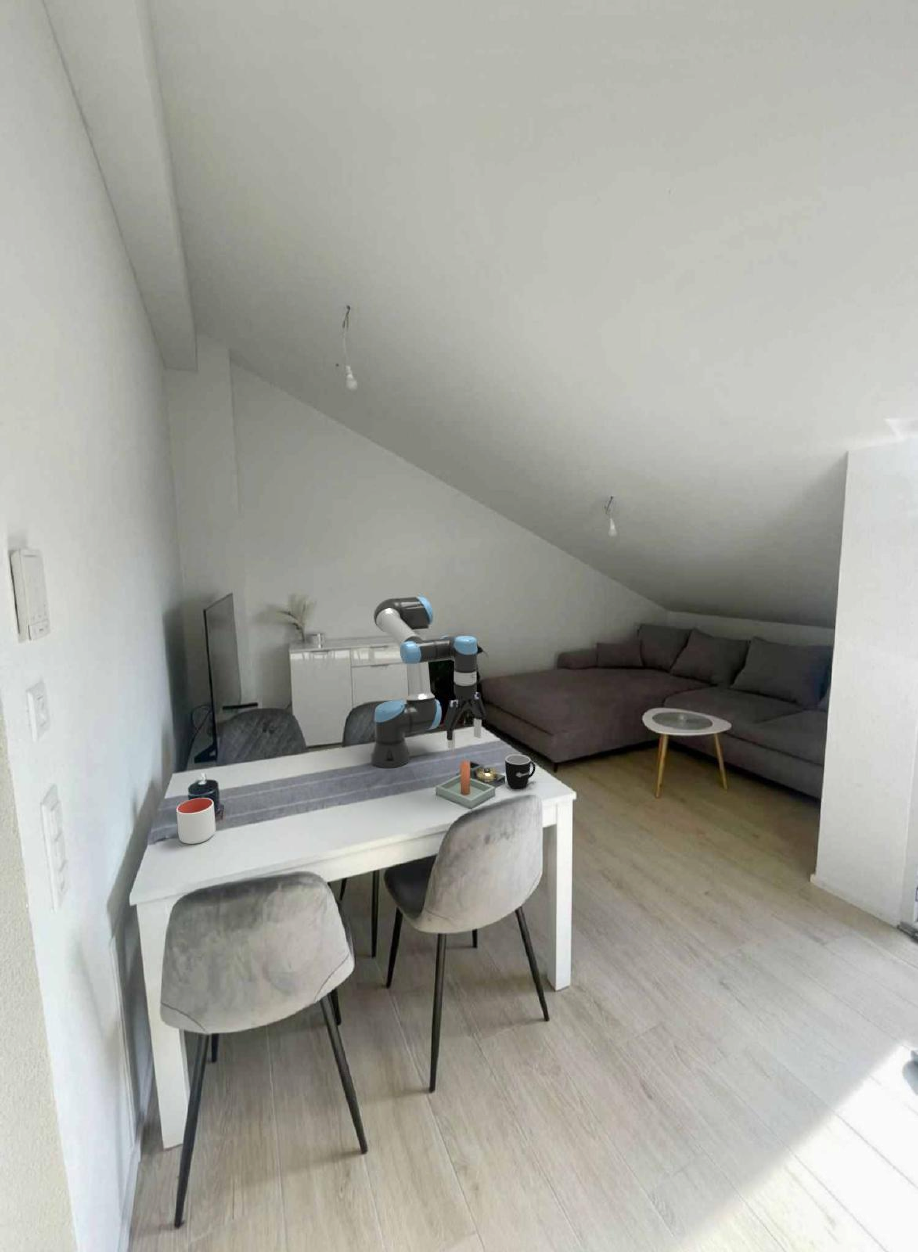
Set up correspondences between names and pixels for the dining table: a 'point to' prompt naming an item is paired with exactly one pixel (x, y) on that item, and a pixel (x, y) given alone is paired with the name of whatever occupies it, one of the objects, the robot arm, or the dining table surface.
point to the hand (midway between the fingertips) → (464, 742)
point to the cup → (196, 820)
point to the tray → (476, 797)
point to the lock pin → (465, 778)
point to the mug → (518, 771)
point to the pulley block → (485, 774)
